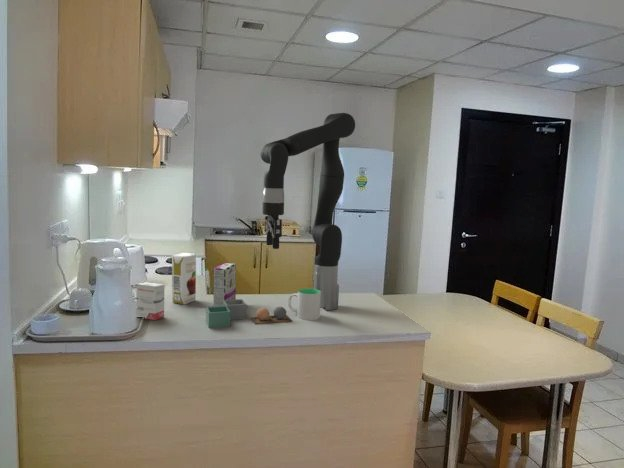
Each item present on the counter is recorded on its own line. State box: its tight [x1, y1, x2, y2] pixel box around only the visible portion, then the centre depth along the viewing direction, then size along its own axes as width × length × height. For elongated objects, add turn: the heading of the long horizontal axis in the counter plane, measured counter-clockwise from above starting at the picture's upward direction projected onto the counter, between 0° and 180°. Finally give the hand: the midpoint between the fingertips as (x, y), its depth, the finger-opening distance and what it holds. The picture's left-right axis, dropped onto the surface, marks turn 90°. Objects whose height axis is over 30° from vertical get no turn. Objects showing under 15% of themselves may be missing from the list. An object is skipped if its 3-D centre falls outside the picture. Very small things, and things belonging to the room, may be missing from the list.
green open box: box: [205, 306, 231, 329], centre depth 159 cm, size 7×7×6 cm
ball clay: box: [255, 307, 270, 321], centre depth 165 cm, size 4×4×4 cm
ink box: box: [135, 281, 166, 321], centre depth 167 cm, size 9×5×12 cm, turn 71°
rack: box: [250, 314, 293, 326], centre depth 166 cm, size 13×7×2 cm, turn 110°
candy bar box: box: [213, 262, 237, 307], centre depth 181 cm, size 11×5×16 cm, turn 168°
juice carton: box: [171, 252, 197, 305], centre depth 187 cm, size 8×9×19 cm
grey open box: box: [223, 298, 247, 320], centre depth 169 cm, size 7×7×6 cm
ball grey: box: [272, 306, 287, 320], centre depth 167 cm, size 4×4×4 cm
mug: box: [287, 288, 321, 321], centre depth 172 cm, size 12×8×10 cm
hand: (272, 246), depth 169 cm, fingers open, 8 cm apart
